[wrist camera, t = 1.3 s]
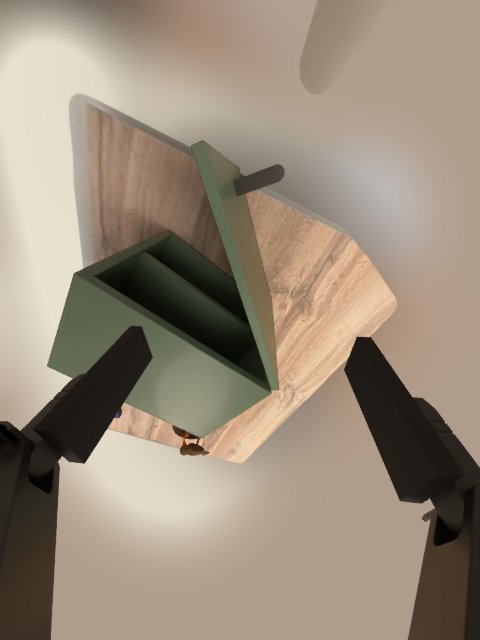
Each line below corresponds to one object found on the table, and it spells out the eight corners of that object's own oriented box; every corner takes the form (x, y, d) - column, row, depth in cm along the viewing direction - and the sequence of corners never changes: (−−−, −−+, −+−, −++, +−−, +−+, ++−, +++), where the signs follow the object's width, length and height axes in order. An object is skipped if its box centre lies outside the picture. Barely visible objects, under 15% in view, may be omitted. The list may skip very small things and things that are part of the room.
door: (273, 153, 32) (290, 100, 12) (297, 297, 45) (325, 384, 25) (233, 169, 34) (190, 145, 14) (268, 303, 47) (271, 390, 27)
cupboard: (169, 229, 40) (73, 272, 20) (268, 305, 47) (271, 393, 27) (136, 291, 49) (46, 366, 29) (224, 347, 56) (202, 438, 36)
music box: (226, 388, 66) (212, 458, 50) (216, 402, 72) (200, 469, 57) (182, 371, 63) (152, 440, 48) (175, 388, 70) (147, 454, 54)
